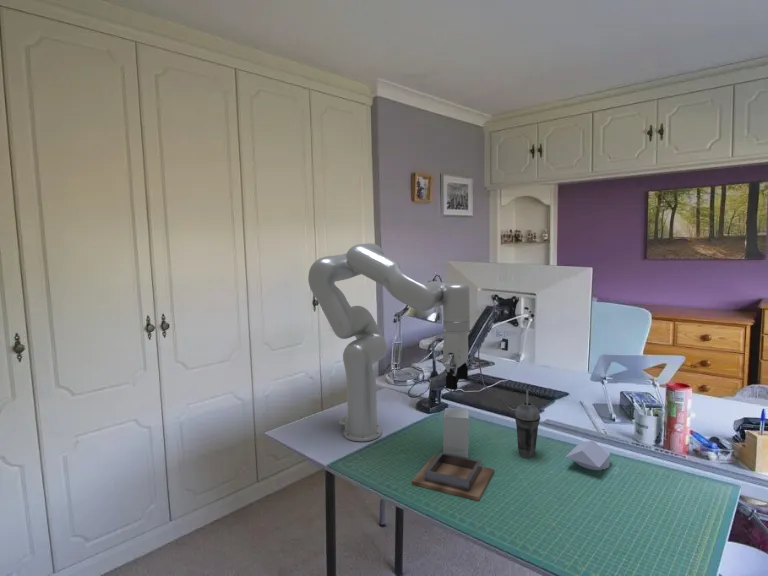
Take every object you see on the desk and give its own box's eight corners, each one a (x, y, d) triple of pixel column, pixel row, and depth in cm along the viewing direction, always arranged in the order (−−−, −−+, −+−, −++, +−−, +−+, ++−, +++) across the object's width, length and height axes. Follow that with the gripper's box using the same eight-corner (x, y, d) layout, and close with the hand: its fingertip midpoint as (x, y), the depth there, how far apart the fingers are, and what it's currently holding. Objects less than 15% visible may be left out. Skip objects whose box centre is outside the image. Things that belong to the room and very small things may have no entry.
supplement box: (468, 460, 138) (468, 418, 137) (442, 458, 140) (442, 416, 138) (469, 448, 145) (469, 408, 144) (444, 446, 147) (444, 407, 145)
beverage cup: (541, 450, 143) (542, 386, 140) (537, 462, 136) (539, 394, 134) (516, 446, 146) (517, 383, 143) (511, 457, 139) (512, 391, 137)
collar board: (411, 484, 126) (411, 471, 125) (432, 459, 139) (432, 447, 139) (478, 501, 118) (478, 487, 117) (494, 472, 131) (494, 460, 130)
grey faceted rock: (598, 479, 126) (613, 460, 136) (599, 455, 126) (614, 438, 135) (564, 468, 132) (581, 451, 142) (565, 445, 131) (581, 430, 141)
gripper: (453, 319, 147) (454, 373, 149) (433, 331, 131) (434, 391, 134) (477, 321, 143) (478, 376, 145) (459, 333, 128) (460, 395, 130)
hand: (457, 383), depth 140 cm, fingers open, 9 cm apart
